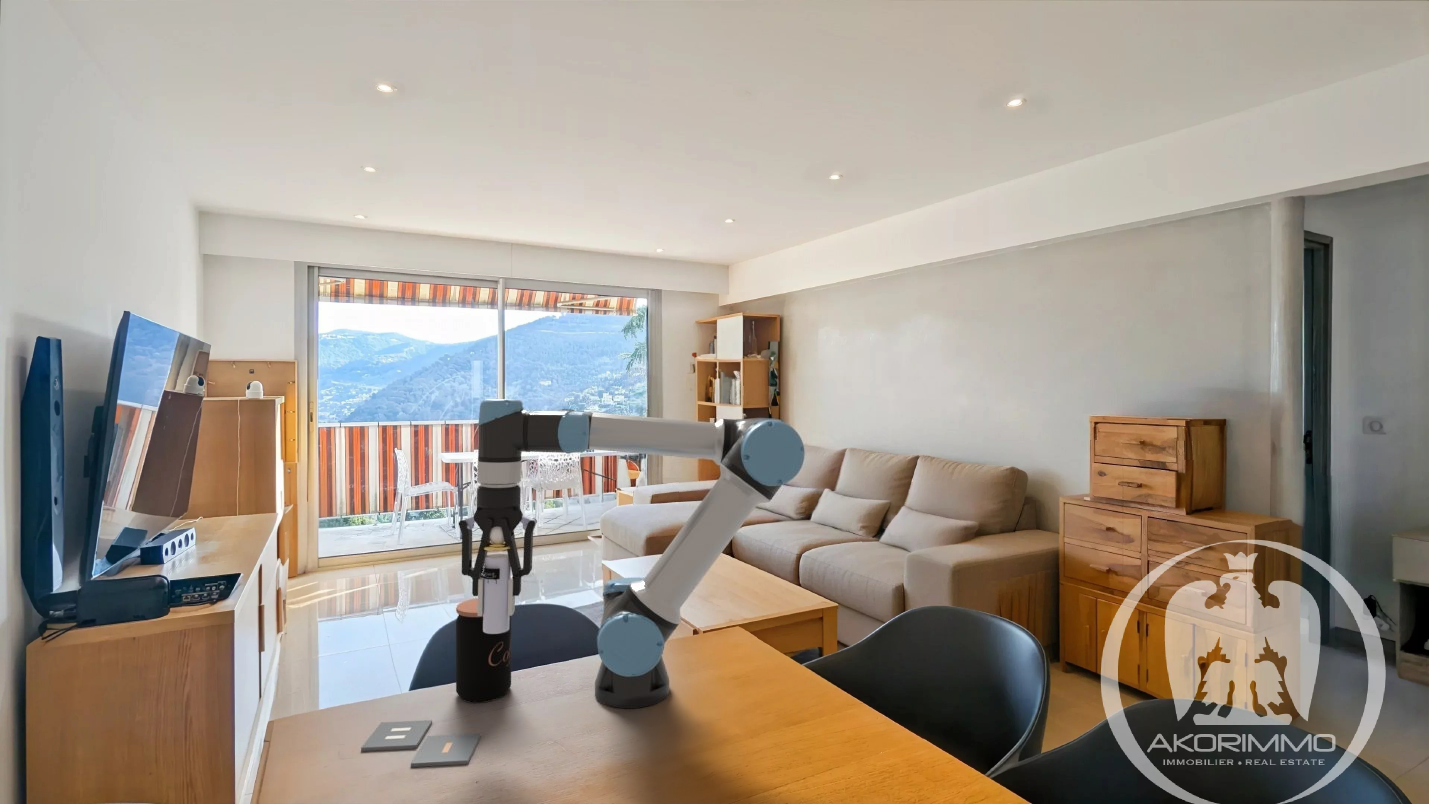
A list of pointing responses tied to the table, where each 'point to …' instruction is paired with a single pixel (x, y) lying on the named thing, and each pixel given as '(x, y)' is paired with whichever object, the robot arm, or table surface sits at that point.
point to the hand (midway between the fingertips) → (496, 613)
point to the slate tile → (446, 750)
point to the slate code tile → (397, 735)
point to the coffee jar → (480, 657)
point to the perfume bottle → (496, 584)
